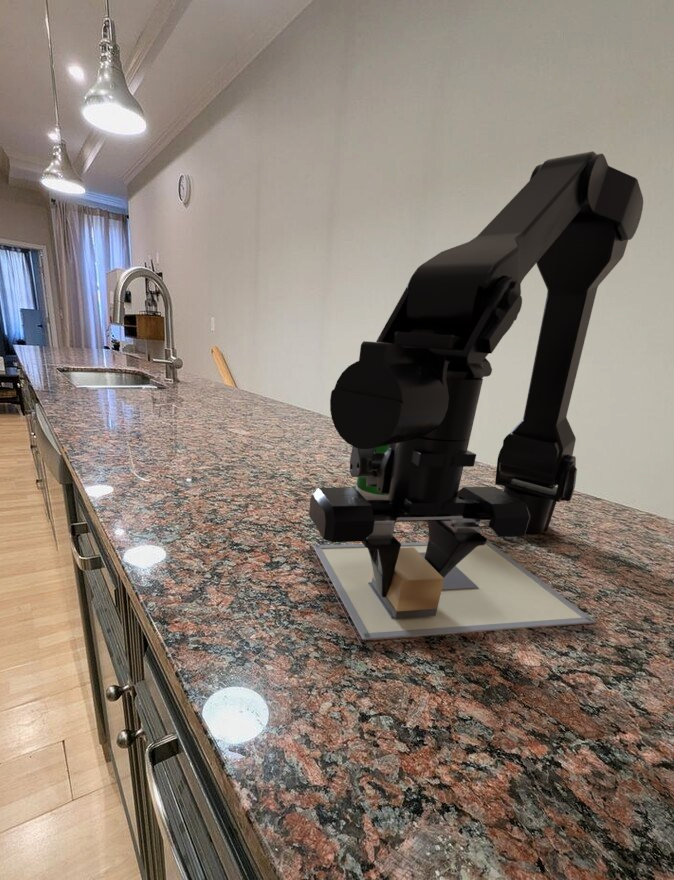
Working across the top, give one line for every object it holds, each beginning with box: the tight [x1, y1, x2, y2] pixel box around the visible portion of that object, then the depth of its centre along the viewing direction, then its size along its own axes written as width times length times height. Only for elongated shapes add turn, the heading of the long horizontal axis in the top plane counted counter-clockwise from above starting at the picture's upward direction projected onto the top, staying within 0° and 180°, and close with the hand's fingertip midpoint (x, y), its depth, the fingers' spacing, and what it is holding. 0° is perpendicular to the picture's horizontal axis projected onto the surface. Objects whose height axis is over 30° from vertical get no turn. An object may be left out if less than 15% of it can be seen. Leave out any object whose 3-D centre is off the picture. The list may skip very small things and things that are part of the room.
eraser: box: [372, 548, 444, 619], centre depth 42 cm, size 4×6×4 cm, turn 12°
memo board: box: [311, 540, 597, 648], centre depth 48 cm, size 23×17×1 cm
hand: (402, 593), depth 43 cm, fingers closed on eraser, 4 cm apart
